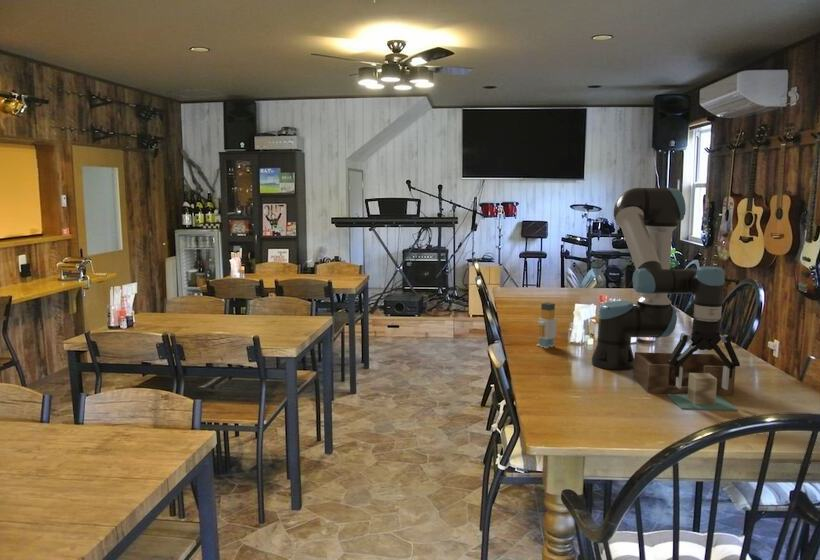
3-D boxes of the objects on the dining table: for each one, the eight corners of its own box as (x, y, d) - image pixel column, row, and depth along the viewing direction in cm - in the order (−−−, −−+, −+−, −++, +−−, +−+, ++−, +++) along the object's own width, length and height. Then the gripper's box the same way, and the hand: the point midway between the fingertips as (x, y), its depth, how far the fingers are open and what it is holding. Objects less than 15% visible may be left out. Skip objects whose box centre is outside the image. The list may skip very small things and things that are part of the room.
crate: (647, 392, 203) (649, 364, 201) (633, 377, 219) (634, 352, 218) (733, 394, 201) (735, 367, 200) (712, 380, 217) (714, 354, 216)
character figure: (535, 348, 260) (537, 304, 257) (537, 342, 270) (538, 300, 267) (555, 349, 258) (557, 305, 255) (556, 344, 268) (557, 301, 265)
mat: (681, 409, 187) (681, 407, 187) (666, 395, 200) (666, 394, 200) (737, 410, 186) (737, 409, 186) (719, 396, 199) (719, 395, 199)
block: (694, 404, 190) (696, 378, 189) (687, 398, 196) (689, 372, 195) (715, 405, 190) (717, 378, 189) (707, 398, 196) (709, 373, 195)
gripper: (668, 320, 187) (663, 390, 190) (756, 322, 185) (749, 392, 188) (659, 315, 194) (655, 382, 197) (744, 317, 192) (738, 385, 196)
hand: (701, 387), depth 193 cm, fingers open, 13 cm apart
